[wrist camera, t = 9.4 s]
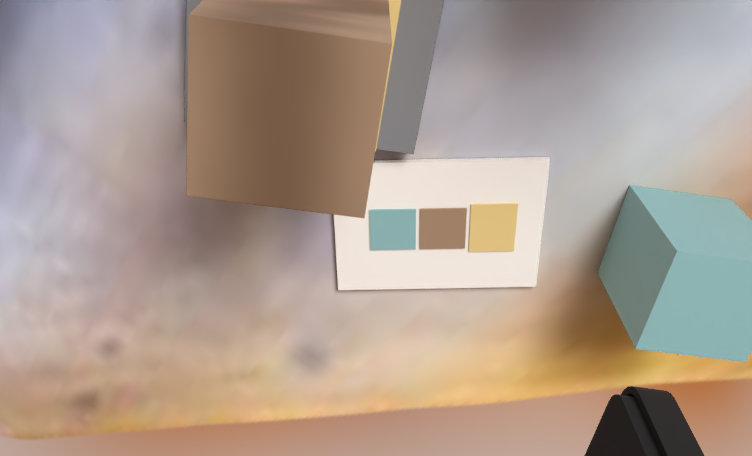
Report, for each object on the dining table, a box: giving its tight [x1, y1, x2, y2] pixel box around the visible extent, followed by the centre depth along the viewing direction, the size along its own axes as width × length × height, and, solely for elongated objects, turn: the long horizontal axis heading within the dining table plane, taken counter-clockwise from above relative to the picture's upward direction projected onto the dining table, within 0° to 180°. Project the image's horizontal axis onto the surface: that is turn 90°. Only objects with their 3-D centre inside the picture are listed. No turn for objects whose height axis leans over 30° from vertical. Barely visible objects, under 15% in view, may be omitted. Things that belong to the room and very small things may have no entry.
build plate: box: [184, 0, 444, 154], centre depth 26 cm, size 10×10×6 cm
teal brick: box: [598, 185, 752, 362], centre depth 32 cm, size 5×5×6 cm
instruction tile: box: [334, 157, 550, 290], centre depth 34 cm, size 10×7×1 cm
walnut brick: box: [186, 0, 392, 218], centre depth 21 cm, size 5×5×6 cm
